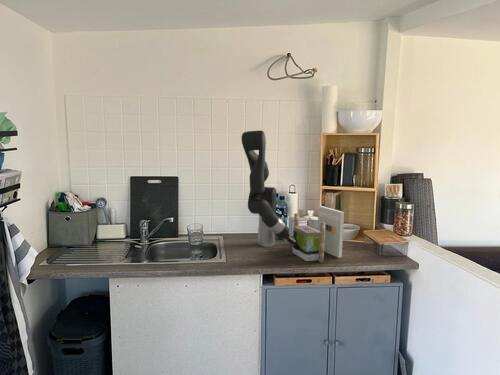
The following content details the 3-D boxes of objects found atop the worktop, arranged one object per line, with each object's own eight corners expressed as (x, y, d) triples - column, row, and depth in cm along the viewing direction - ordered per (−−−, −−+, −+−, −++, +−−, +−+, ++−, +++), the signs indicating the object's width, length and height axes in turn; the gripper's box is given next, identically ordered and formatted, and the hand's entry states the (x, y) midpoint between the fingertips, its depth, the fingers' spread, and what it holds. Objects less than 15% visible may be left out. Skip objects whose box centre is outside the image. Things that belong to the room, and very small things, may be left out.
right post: (317, 261, 187) (319, 222, 184) (321, 260, 188) (323, 222, 185) (320, 262, 185) (322, 223, 182) (324, 262, 186) (326, 223, 183)
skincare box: (311, 246, 211) (312, 219, 209) (306, 243, 217) (307, 217, 215) (324, 245, 213) (326, 219, 211) (320, 242, 219) (321, 216, 217)
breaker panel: (315, 248, 207) (316, 206, 204) (319, 247, 209) (321, 205, 205) (337, 258, 192) (339, 212, 188) (341, 257, 193) (344, 212, 190)
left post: (292, 249, 206) (293, 213, 203) (296, 248, 207) (297, 213, 204) (294, 250, 204) (296, 214, 201) (298, 249, 205) (299, 214, 202)
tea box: (323, 259, 190) (324, 231, 187) (305, 261, 186) (306, 233, 184) (308, 250, 203) (309, 224, 201) (291, 252, 200) (292, 225, 198)
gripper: (290, 224, 180) (309, 246, 187) (275, 219, 191) (294, 239, 199) (280, 236, 178) (300, 257, 185) (266, 230, 189) (286, 250, 197)
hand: (297, 248), depth 192 cm, fingers closed
